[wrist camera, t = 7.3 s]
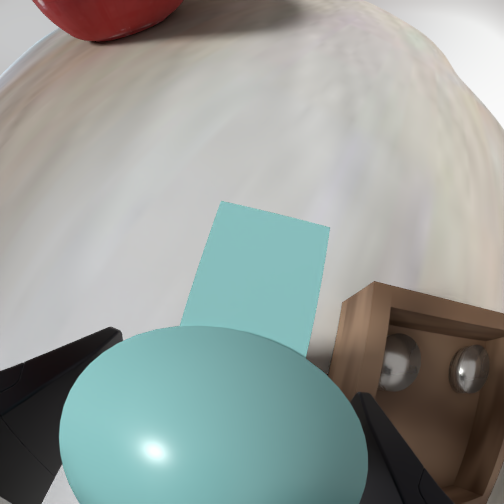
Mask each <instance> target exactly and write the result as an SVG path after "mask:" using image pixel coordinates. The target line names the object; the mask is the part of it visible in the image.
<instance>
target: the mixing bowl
mask: <svg viewBox="0 0 504 504" xmlns="http://www.w3.org/2000/svg"><path fill="white" fill-rule="evenodd" d="M33 2H34V3H35V4H36V6H37V7H38V8H39V9H40V10H41V11H42V13H43V14H45V16H46V17H48V18H49V19H50V20H51V21H52V22H53V23H54V24H56V25H57V26H58V27H60V28H61V29H62V30H64V31H65V32H67V33H68V34H70V35H72V36H73V37H76V38H78V39H81V40H86V41H97V42H103V41H110V40H114V39H118V38H122V37H125V36H128V35H132V34H135V33H137V32H140V31H143V30H145V29H147V28H150V27H152V26H154V25H156V24H158V23H160V22H161V21H163V20H164V19H165V18H167V16H168V15H169V14H171V13H172V12H173V11H175V10H176V9H177V7H178V6H179V5H180V4H181V3H182V2H183V0H33Z"/></svg>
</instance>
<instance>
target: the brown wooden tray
mask: <svg viewBox="0 0 504 504" xmlns="http://www.w3.org/2000/svg"><path fill="white" fill-rule="evenodd" d="M396 333H402V334H406V335H408V336H410V337H411V338H412V339H413V340H414V341H415V342H416V343H417V345H418V347H419V350H420V353H421V366H420V370H419V373H418V375H417V377H416V379H415V380H414V381H413V383H412V384H411V385H409V386H408V387H407V388H405V389H403V390H400V391H385V390H379V389H377V388H378V383H379V378H380V373H381V368H382V363H383V357H384V352H385V346H386V339H387V336H388V335H392V334H396ZM473 345H481V346H482V347H484V348H485V350H486V351H487V353H488V357H489V373H488V377H487V380H486V382H485V384H484V385H483V387H482V388H481V389H480V390H479V391H477V392H476V393H457V392H455V391H454V390H453V389H452V387H451V385H450V382H449V366H450V363H451V360H452V358H453V356H454V354H455V353H456V352H457V351H458V350H459V349H461V348H463V347H468V346H473ZM328 377H329V378H330V379H331V380H332V381H333V382H334V383H335V384H336V385H337V386H338V387H339V388H340V390H341V391H342V393H343V394H344V395H345V397H346V398H347V399H348V401H349V402H350V401H351V400H352V398H353V397H354V396H355V394H356V393H357V392H368V393H370V394H371V395H372V396H373V398H374V399H375V400H376V402H377V403H378V405H379V406H380V407H381V409H382V410H383V411H384V413H385V414H386V415H387V417H388V418H389V419H390V421H391V422H392V423H393V425H394V426H395V427H396V429H397V430H398V432H399V433H400V434H401V436H402V437H403V438H404V440H405V441H406V442H407V444H408V445H409V447H410V448H411V449H412V451H413V452H414V453H415V455H416V456H417V457H418V459H419V460H420V462H421V463H422V464H423V466H424V468H426V470H427V471H428V472H429V474H430V475H431V477H432V478H433V479H434V480H435V482H436V483H437V484H438V486H439V487H440V488H441V489H442V490H443V491H444V492H445V494H446V495H447V496H448V497H449V498H450V499H451V500H452V501H453V502H454V503H455V504H486V503H487V501H488V498H489V496H490V494H491V492H492V489H493V487H494V485H495V482H496V480H497V477H498V475H499V472H500V469H501V467H502V464H503V461H504V314H503V313H499V312H495V311H491V310H487V309H483V308H479V307H475V306H471V305H467V304H463V303H459V302H455V301H451V300H447V299H443V298H439V297H435V296H431V295H427V294H423V293H419V292H415V291H411V290H407V289H403V288H399V287H395V286H391V285H387V284H383V283H379V282H375V281H374V282H372V283H371V284H369V285H368V286H367V287H365V288H364V289H362V290H361V291H359V292H358V293H356V294H355V295H353V296H351V297H350V298H348V299H347V300H345V301H344V302H342V308H341V314H340V319H339V325H338V330H337V336H336V341H335V346H334V350H333V355H332V360H331V364H330V369H329V373H328Z"/></svg>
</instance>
